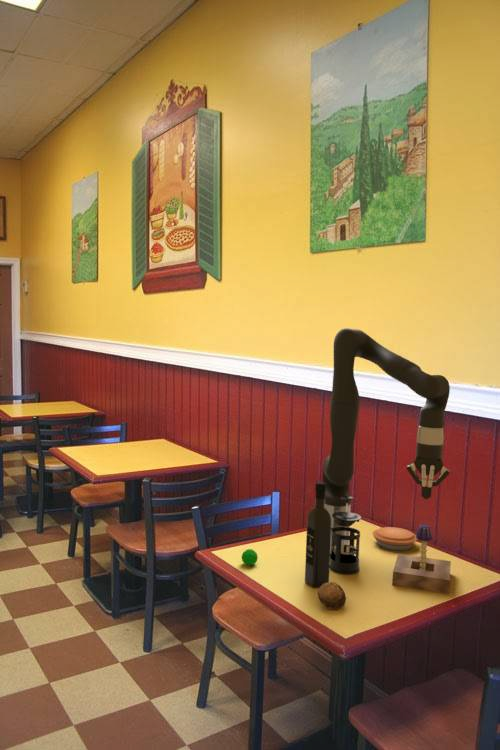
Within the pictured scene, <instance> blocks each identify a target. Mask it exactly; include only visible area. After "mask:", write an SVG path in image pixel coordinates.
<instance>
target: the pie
mask: <svg viewBox="0 0 500 750" xmlns="http://www.w3.org/2000/svg"><path fill="white" fill-rule="evenodd" d="M372 536H373V538H374V539H375V541H376V542H377V544H378V546H380V547H381V548H384V549H386V550H391V551H406V550H407V551H408V550H409V549H411V547H412V546H413V545H414V543H416V542H418V539H417V538H416V534H415V533H414V532H412V531H411V530H408V529H405V528H401V527H394V526H385V527H384V526H383V527H380V528H378V529H375V530H373V531H372Z"/></svg>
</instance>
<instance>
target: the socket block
mask: <svg viewBox="0 0 500 750" xmlns="http://www.w3.org/2000/svg"><path fill="white" fill-rule="evenodd" d="M420 559H421V557H420V556H418V555H416V556H415V555H410V554H402V553H398V554H397V557H396V560H395V563H394V567H393V570H392V584H391V585H392V586H397V587H404V588H409V589H411V588H412V589H417V590H423V591H427V592H428V591H430V592H435V593H442V594H448V595H449V594H450V586H451V585H450V583H451V566H452V564H451V560H444V559H437V558H430V557H426V563H425V564H426V568H425V570H426V571H424V570H420Z"/></svg>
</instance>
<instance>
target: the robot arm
mask: <svg viewBox="0 0 500 750" xmlns="http://www.w3.org/2000/svg"><path fill="white" fill-rule="evenodd" d="M356 358H360V359H363V360H366V361H369V362H371V363H372V364H375V365H376V366H378V367H379V368H380V369H381V370H382V371H383V372H384V373H386V374H387V375H388V376H389V377H391V378H392V379H394V380H397V381H398V382H400V383H402V384H404V385H406V386H407V387H408V388H409V389H410V390H411V391H412V392H414V393H416V395H418V396H420V397H421V398H423V399H426V401H425V403H424V404H425V405H423V407H421V408H420V410H419V417H418V418H419V419H418V428H417V429H418V430H417V436H416V452H415V459H414V460H413V463H411V464H407V467H406V470H407V472H408V473H409V475H410V476H411V477H412V479H413V480H414V482H415V484H417V485H420V486H421V496H420V497H421V498H422V497H423V500H429V499H431V497H432V491H433V487H438V486H439V485H440V484H441V483H442V482H443V481H444V480H445V479H446V478H447V477H448V476H450V474H451V473H450V471H451V470H450V469H448V468H447V467H445V466H444V462H443V450H444V449H443V448H444V442H445V441H444V434H445V433H444V423H445V421H444V420H445V416H444V415H445V411H446V408H447V404H448V401H449V397H450V389H451V388H450V383H449V380H448V379H447V378H446V376H443V375H441V374H433V375H432V374H429V373H427V372H425V371H423V370H422V369H421V367H420V366H419V365H418V364H416V363H415V362H413V361H410V360H409V359H407V358H405V357H403V356H401V355H399V354H397V353H395V352H393V351H392V350H389V348H387V347H384V346H383V345H382V344H380V343H379V342H377V341H376V340H375V339H374V338H372V337H371V336H370V335H369V334H367V333H366V332H364V331H363V330H361V329H356V328H348V327H347V328H345V327H344V328H341V329H339V330H338V332H337V333H336V334H335V337H334V340H333V373H332V374H333V377H332V385H331V386H332V387H331V389H332V390H331V398H330V406H329V407H330V408H329V421H330V422H329V425H330V435H331V437H330V438H331V447H330V452H329V453H330V454H329V455H328V456H327V457H326V458H325V460H324V461H323V464H322V479H321V482H323V483H326V491H325V508H326V509H327V511H328V512H329V514H330V516H331V527H332V528H335V527H345V526H340V525H336V524H335V523H334V522H333V517H332V514H333V513H336V512H346V500H344V499H341V496H351V497H352V495H351V491H350V489H351V488H350V482H351V480H352V478H353V476H354V473H355V472H354V471H355V465H354V464H355V463H354V462H355V460H354V459H355V458H354V457H355V455H354V452H355V451H354V447H355V439H356V438H355V437H356V433H357V427H358V426H357V425H358V418H359V411H360V410H359V409H360V393H359V389H358V386H357V383H356V379H355V375H354V372H355V370H354V368H355V359H356ZM416 469H417V471H418V472H419V474H420V475H421V479H420V477H419V476H418V474H417V472H416ZM439 472H440V475H439V476H438V478H436V479H435V480H434V476H436V475H437V474H438V473H439ZM427 476H428V477H427ZM427 478H428V481H427ZM351 501H352V500H349V503H348V506H347V512H351ZM348 527H351V526H348ZM335 533H336V534H339V535H344V536H345V531H336V532H335ZM346 536H350V531H346ZM341 544H345V540H342V539H341ZM346 544H348V545H349V540H346ZM331 545H332V535H331V541H330V553H331ZM335 545H336V538H335ZM334 554H336V553H335V552H334Z"/></svg>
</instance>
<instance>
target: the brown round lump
mask: <svg viewBox="0 0 500 750" xmlns="http://www.w3.org/2000/svg"><path fill="white" fill-rule="evenodd" d="M344 590H345V589H343V587H341V585H340V584H338V583H337V582H335V581H334V582H332V581H329V582H328V583H324V584H323V585H322V586H320V587H318V591H317V597H318V600H319V601H320V603H321V604H322V606H323V607H324V608H326V609H329V610H332V611H333V610H334V611H336V610H338V609H341V608H342V607H343V606H344V605H345V604H346V600H347V595H346V593H345V591H344Z"/></svg>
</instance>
